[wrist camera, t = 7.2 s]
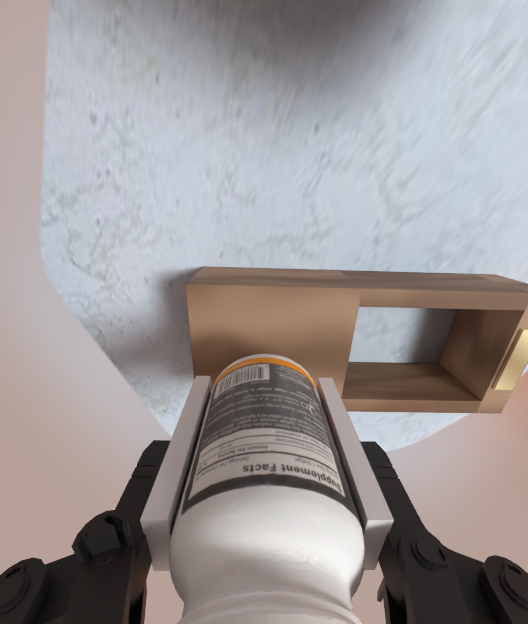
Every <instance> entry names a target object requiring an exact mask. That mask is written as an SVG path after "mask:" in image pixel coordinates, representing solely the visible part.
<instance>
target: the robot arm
mask: <svg viewBox="0 0 528 624" xmlns="http://www.w3.org/2000/svg"><path fill="white" fill-rule="evenodd" d="M317 392H318V395H319V398H320V401H321V404H322V407H323V410H324V413H325V416H326V419H327V422H328V425H329V428H330V431H331V434H332V437H333V440H334V443H335V446H336V449H337V452H338V455H339V459H340V462H341V465H342V468H343V472H344V475H345V478H346V481H347V483H348V487H349V490H350V493H351V496H352V499H353V503H354V505H355V508H356V511H357V513H358V516H359V520H360V524H361V527H362V532H363V537H364V544H365V566H364V570H374V569H375V568H376V566H377V563H378V561H379V563H380V566H381V569H382V572H383V575H384V578H383V580H382V582H381V585H380V587H379V590H378V596H377V601H379V602H381V601H382V598H383V600H384V608H385V617H386V624H528V573H526V572H525V571H524V570H523V569H522V568H521V567H520V566H518V565H517V564H515V563H513V562H512V561H510V560H508V559H507V558H504V557H500V556H496V555H495V556H490V557H488V558H487V559H486V561H485V562H484V563H483V562H481V561H478V560H475V559H472V558H470V557H467V556H464V555H462V554H459V553H457V552H454V551H452V550H450V549H448V548H446V547H445V546H443V545H442V544H441V543H440V541H439V540H438V539H437V538H436V537H434V536H433V535H432V534H431V533H430V532H428V531H427V529H426V528H425V526H424V525H423V523H422V522H421V520H420V518H419V516H418V514H417V512H416V510H415V509H414V506H413V504H412V503H411V501H410V499H409V497H408V495H407V493H406V491H405V489H404V487H403V485H402V484H401V481H400V479H398V476H397V474H396V472H395V470H394V468H393V467H392V464H391V462H390V460H389V458H388V456H387V454H386V453H385V451H384V450H383V449H382V448H381V447H380V446H379V445H378V444H377V443H376V442H360V441H359V438H358V436H357V434H356V431H355V429H354V427H353V424H352V422H351V420H350V418H349V415H348V413H347V411H346V408H345V406H344V404H343V401H342V399H341V397H340V394H339V392H338V390H337V388H336V385H335V383H334V381H333V378H318V383H317ZM210 395H211V377H210V376H196V377H195V380H194V382H193V385H192V388H191V390H190V393H189V395H188V398H187V400H186V403H185V406H184V408H183V411H182V413H181V416H180V418H179V421H178V424H177V426H176V429H175V431H174V434H173V437H172V439H171V441H160V440H158V441H157V440H154V441H153V442H152V443H151V444H150V445H149V446H148V447H147V448H146V449H145V450H144V451H143V453H142V456H141V457H140V459H139V462H138V463H137V467H136V468H135V470H134V472H133V474H132V477H131V479H130V480H129V482H128V484H127V486H126V488H125V490H124V492H123V494H122V496H121V498H120V501H119V503H118V505H117V507H116V509H115V510H111V511H106V512H103V513H101V514H99V515H97V516H95V517H94V518H93V519H92V520H90V521H89V522H88V523H87V524H86V525H85V526H84V527H83V528H82V530H81V531H80V532H79V533H78V534H77V537H76V538H75V541H74V543H73V545H72V548H73V550H74V553H75V554H73V555H70V556H67V557H65V558H62V559H59V560H57V561H54V562H51V563H48V564H46V565H45V564H44V563H43V562H42V560H41V559H37V558H30V559H26V560H22V561H20V562H18V563H17V564H15V565H13V566H12V567H10V568H8V569H7V570H6V571H5V572H4V573H2V574H1V575H0V624H144V619H145V606H146V595H147V586H146V579H147V575H148V572H149V569H150V566H151V563H152V566H153V570H154V571H170V567H169V547H170V540H171V534H172V531H173V527H174V523H175V519H176V516H177V512H178V509H179V505H180V502H181V498H182V494H183V490H184V485H185V482H186V479H187V477H188V474H189V471H190V467H191V462H192V459H193V456H194V452H195V448H196V444H197V441H198V437H199V433H200V430H201V424H202V421H203V418H204V415H205V412H206V408H207V404H208V401H209V398H210Z"/></svg>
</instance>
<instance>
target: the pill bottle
mask: <svg viewBox="0 0 528 624" xmlns="http://www.w3.org/2000/svg"><path fill="white" fill-rule="evenodd" d="M364 566H365V544H364V537H363V532H362V527H361V524H360V520H359V516H358V513H357V511H356V508H355V505H354V503H353V499H352V496H351V493H350V490H349V487H348V483H347V481H346V478H345V475H344V472H343V468H342V465H341V462H340V459H339V455H338V452H337V449H336V446H335V443H334V440H333V437H332V434H331V431H330V428H329V425H328V422H327V419H326V416H325V413H324V410H323V407H322V404H321V401H320V398H319V395H318V392H317V389H316V387H315V384H314V382H313V380H312V378H311V377H310V375H309V373H308V372H307V371H306V370H305V369H304V368H303V367H302V366H300V365H299V364H298V363H296V362H294V361H293V360H291V359H289V358H286V357H283V356H280V355H274V354H256V355H251V356H247V357H244V358H241V359H239V360H237V361H235V362H233V363H232V364H230V365H229V366H228V367H227V368H226V369H224V370H223V371H222V372H221V374H220V375H219V376H218V378H217V379H216V382H215V384H214V386H213V389H212V392H211V395H210V398H209V401H208V404H207V408H206V412H205V415H204V418H203V421H202V424H201V430H200V433H199V437H198V441H197V444H196V448H195V452H194V456H193V459H192V462H191V467H190V471H189V474H188V477H187V479H186V482H185V485H184V490H183V494H182V498H181V502H180V505H179V509H178V512H177V516H176V519H175V523H174V527H173V531H172V534H171V540H170V547H169V567H170V573H171V578H172V581H173V584H174V586H175V589H176V591H177V593H178V595H179V596H180V598H181V599H182V600H183V602H184V609H183V614H182V619H181V620H180V621H179V622H178V623H177V624H362V623H361V621H360V620H359V619H358V618H357V617H356V616H355V614H354V610H353V605H352V597H353V595H354V594H355V592H356V591H357V589H358V587H359V585H360V582H361V579H362V575H363V572H364Z"/></svg>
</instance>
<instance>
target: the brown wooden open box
mask: <svg viewBox="0 0 528 624" xmlns="http://www.w3.org/2000/svg"><path fill="white" fill-rule="evenodd" d="M185 287H186V297H187V308H188V318H189V328H190V339H191V349H192V360H193V370H194V380H195V377H196V376H210V377H211V392H212V389H213V386H214V384H215V382H216V379H217V378H218V376H219V375H220V374H221V372H222V371H223V370H224V369H226V368H227V367H228V366H229V365H230V364H232V363H233V362H235V361H237V360H239V359H241V358H244V357H247V356H251V355H256V354H274V355H280V356H283V357H286V358H289V359H291V360H293V361H294V362H296V363H298V364H299V365H300V366H302V367H303V368H304V369H305V370H306V371H307V372H308V373H309V375H310V377H311V378H312V380H313V382H314V384H315V387H316V389H317V383H318V378H333V381H334V383H335V385H336V388H337V390H338V392H339V394H340V397H341V399H342V401H343V404H344V406H345V408H346V411H361V412H434V413H501V412H502V410H503V408H504V407H505V405H506V403H507V401H508V399H509V397H510V395H511V393H512V391H513V389H514V388H515V385H516V384H517V382H518V380H519V378H520V376H521V374H522V372H523V370H524V369H525V367H526V365H527V363H528V284H527V283H523V282H519V281H516V280H512V279H509V278H505V277H501V276H498V275H489V274H453V273H416V272H380V271H343V270H307V269H270V268H234V267H202V268H201V269H200V270H199V271H198V272H197V273H196V274H195V275H194V276H193V277H192V278H191V279H190V280H189V281H188V282H187V283H186V284H185ZM359 306H360V307H401V308H443V309H458V312H457V314H456V317H455V320H454V323H453V325H452V328H451V331H450V334H449V337H448V339H447V342H446V345H445V348H444V350H443V353H442V356H441V359H440V361H439V364H423V363H369V362H348V360H349V355H350V350H351V344H352V339H353V334H354V329H355V324H356V318H357V313H358V308H359Z"/></svg>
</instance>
